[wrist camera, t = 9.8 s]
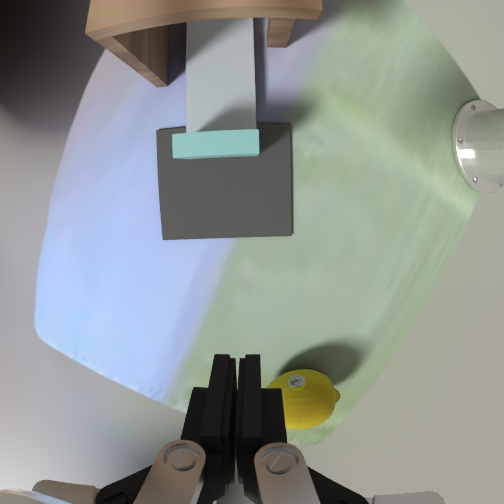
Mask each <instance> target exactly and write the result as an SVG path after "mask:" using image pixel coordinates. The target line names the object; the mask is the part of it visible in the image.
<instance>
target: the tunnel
mask: <svg viewBox="0 0 504 504" xmlns="http://www.w3.org/2000/svg"><path fill="white" fill-rule="evenodd" d="M322 11H323V7H322V0H91V2H90V8H89V13H88V19H87V25H86V32H85V33H86V34H87V35H88V36H90V37H91V38H92V39H94V40H95V41H96V42H98V43H99V44H101V45H102V46H104V47H105V48H106V49H107V50H109V51H110V52H112V53H113V54H114V55H116V56H117V57H118V58H120V59H121V60H122V61H124V62H125V63H126V64H128V65H129V66H130V67H131V68H133V69H134V70H135V71H137V72H138V73H139V74H141V75H142V76H143V77H144V78H146V79H147V80H148V81H149V82H151V83H152V84H153V85H155V86H156V87H164V86H168V48H169V27H170V24H176V23H183V22H191V21H200V20H211V19H225V18H251V17H269V21H268V28H267V47H282V48H286V46H287V43H288V40H289V38H290V35H291V32H292V29H293V26H294V23H295V20H296V18H297V19H311V20H318V18H319V16H320V14H321V12H322Z"/></svg>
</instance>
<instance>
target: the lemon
mask: <svg viewBox="0 0 504 504" xmlns="http://www.w3.org/2000/svg"><path fill="white" fill-rule="evenodd" d="M267 388H281V389H282V397H283V406H284V416H285V425H286V429H307V428H312V427H315V426H317V425H320V424H321V423H323V422H324V421H326V420H327V419H328V418H329V417H330V416H331V414H332V412H333V410H334V407H335V404H336V403H337V401H338V400H339V399H340V393H339V391H337V390H336V389H335V388H334V386H333V384H332V382H331V380H330V379H329V378H328V377H327V376H326V375H324V374H322V373H320V372H318V371H315V370H310V369H298V370H293V371H290V372H287V373H284V374H283V375H281V376H279V377H277V378H276V379H275V380H274V381H272V382H271V383H270V384H269V386H268V387H267Z"/></svg>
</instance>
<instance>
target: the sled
mask: <svg viewBox="0 0 504 504" xmlns="http://www.w3.org/2000/svg"><path fill="white" fill-rule="evenodd" d="M172 146H173V158H178V159H201V158H218V157H243V156H257V155H258V154H259V129H256V97H255V65H254V35H253V17H251V18H225V19H211V20H200V21H191V22H187V35H186V133H181V134H172Z"/></svg>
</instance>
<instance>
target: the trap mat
mask: <svg viewBox="0 0 504 504" xmlns="http://www.w3.org/2000/svg"><path fill="white" fill-rule="evenodd" d="M256 129H259V154H258V155H257V156H243V157H218V158H201V159H178V158H173V146H172V134H181V133H186V127H185V128H174V129H165V130H156V133H157V164H158V183H159V199H160V212H161V225H162V236H163V240H176V239H204V238H235V237H270V236H291V146H290V123H262V124H256Z"/></svg>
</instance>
